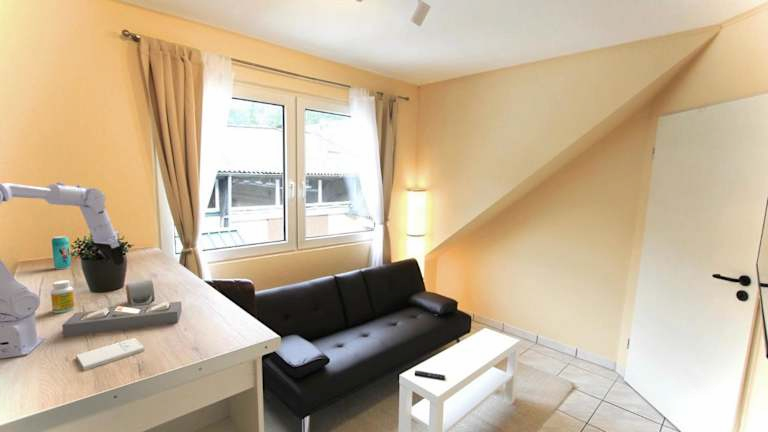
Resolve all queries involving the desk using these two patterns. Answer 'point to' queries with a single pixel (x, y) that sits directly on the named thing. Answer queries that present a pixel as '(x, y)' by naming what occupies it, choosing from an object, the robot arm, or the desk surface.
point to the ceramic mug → (140, 292)
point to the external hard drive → (109, 353)
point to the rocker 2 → (125, 311)
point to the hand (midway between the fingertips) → (115, 261)
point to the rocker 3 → (159, 307)
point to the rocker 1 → (96, 314)
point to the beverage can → (61, 252)
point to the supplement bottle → (62, 297)
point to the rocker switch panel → (121, 320)
